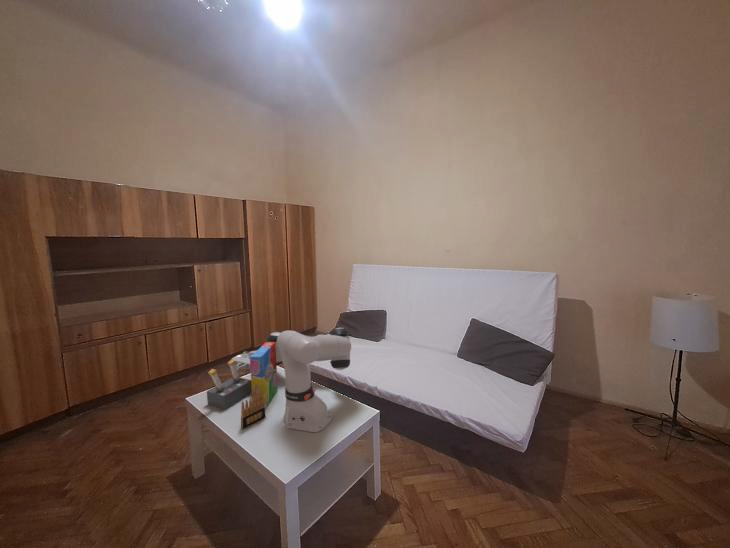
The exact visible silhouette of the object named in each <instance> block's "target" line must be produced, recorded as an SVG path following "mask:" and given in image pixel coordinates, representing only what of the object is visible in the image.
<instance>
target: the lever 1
mask: <svg viewBox="0 0 730 548" xmlns="http://www.w3.org/2000/svg"><path fill="white" fill-rule="evenodd" d="M207 373H208V375H209V376H210V377H211V378H212V381H213V382H214V385H215V387H216V390H220V391H223V390H224V389H225V387H224V386H223V385H222V383H223V382H221V380H220V377H219V376H218V371H217V369H214V368H211V369H210V370H209V371H208V372H207Z"/></svg>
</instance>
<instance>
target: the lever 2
mask: <svg viewBox="0 0 730 548" xmlns="http://www.w3.org/2000/svg"><path fill="white" fill-rule="evenodd" d="M235 363H236V362H235V360H231V359H230V360H229V361H228V362H227V365H228V366H229V368H230V371H231V374H232V378H233V381H237V382H240V380H241V378H242V377H240V375H239V372H238V370H237V368H236V365H235Z"/></svg>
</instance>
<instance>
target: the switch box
mask: <svg viewBox="0 0 730 548" xmlns="http://www.w3.org/2000/svg"><path fill="white" fill-rule="evenodd" d="M221 383H222V385H223V386H224V387H225V389H224V390H223V391H220V390H216V386H213V387H212V388H210V389H208V390H207V391H206V398H207V399H206V401H207V405H208V404H209V405H208V406H211V405H212V407H215V408H217V409H221V410H224V411H226V410H227V409H229V408H231V407H232V406H234V405H236V404H237V403H239V402H241V401H242V400H243V399H245V398H246V397H249V395H252V387H251V379H247V378H243V377H241V380H240V382H237V381H233V377H231V378H229V379H227V380H225V381H224V382H221Z"/></svg>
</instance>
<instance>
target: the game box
mask: <svg viewBox="0 0 730 548" xmlns="http://www.w3.org/2000/svg"><path fill="white" fill-rule="evenodd" d="M255 351H256V350H255ZM277 366H278V365H276V343H275V342H267V341H265V342H264V343H263V344H262V345H261V346H260V347H259V348H258V349H257V351H256V352H255V353H254V354H253V355H252V356H251V357H250V368H251V370H250V380H251V387H252V393H251V400H252V406H253V397H255V399H256V404H257V395H259V400H260V396H261V393H262V395H263V401H264V407H265V410H266V409H267V408H268V406H269V404H270V402H271V401H272V400H273V398H274V396H275V395H276V393H277V392H278V389H279V388H278V368H277Z"/></svg>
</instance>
